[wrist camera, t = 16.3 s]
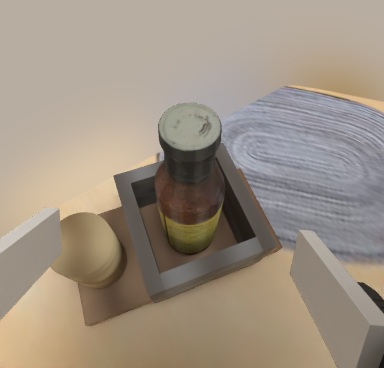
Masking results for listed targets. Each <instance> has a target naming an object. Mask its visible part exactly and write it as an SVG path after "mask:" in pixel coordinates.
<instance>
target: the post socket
mask: <svg viewBox="0 0 384 368" xmlns="http://www.w3.org/2000/svg"><path fill="white" fill-rule="evenodd" d="M215 157H216V162H217V164H218V166H219V168H220V171H221V173H222V175H223V178H224V182H225V195H224V200H223V205H222V208H221V213H220V217H219V221H218V226H217V229H216V233H215V236H214V239H213V241H212V242H211V244H210V245H209V246H208V248H207V249H205V250H204V251H202V252H200V253H197V254H194V255H186V254H183V253H179V252H177V251H176V250H174V249H173V248H172V247H171V246H170V244H169V242H168V241H167V239H166V237H165V234H164V230H163V225H162V221H161V217H160V213H159V209H158V205H157V199H156V190H155V178H154V177H155V174H156V172H157V169H158V167H159V166H160V165H161V163H162V162H163V161H161V162H157V163H154V164H151V165H147V166H144V167H141V168H137V169H134V170H131V171H127V172H124V173H121V174H117V175H114V180H115V183H116V186H117V190H118V193H119V197H120V200H121V204H122V207H119V208H116V209H113V210H110V211H107V212H104V213H101V214H98V215H96V214H93V213H77V214H73V215H70V216H68V217H66V218H64V219H63V220H61V221H60V229H61V244H62V254H61V255H60V256H59V257H58V258H57V259H56V260H55V261H54V262H53V264H52V265H51V266H50V267H51V268H52V269H53V270H54V271H55V272H57V273H59V274H61V275H63V276H65V277H67V278H69V279H72V280H74V281H76V282H78V287H79V292H80V298H81V303H82V308H83V314H84V319H85V324H86V326H92V325H95V324H97V323H100V322H102V321H105V320H107V319H110V318H112V317H115V316H117V315H120V314H122V313H125V312H127V311H130V310H132V309H135V308H137V307H140V306H142V305H145V304H147V303H150V302H152V301H153V302H154V303H157V302H159V301H162V300H164V299H167V298H169V297H172V296H174V295H176V294H179V293H181V292H184V291H186V290H189V289H191V288H194V287H196V286H199V285H201V284H204V283H206V282H209V281H211V280H214V279H216V278H219V277H221V276H224V275H226V274H229V273H231V272H234V271H236V270H238V269H241V268H243V267H246V266H248V265H251V264H253V263H256V262H258V261H260V260H261V259H262V258H263V257H265V256H267V255H269V254H272V253H274V252H277V251H278V250H279V249H281V248H282V246H281V244H280V242H279V240H278V238H277V236H276V234H275V232H274V231H273V229H272V227H271V225H270V223H269V221H268V219H267V217H266V216H265V214H264V212H263V210H262V208H261V206H260V204H259V202H258V201H257V199H256V197H255V195H254V193H253V191H252V189H251V188H250V186H249V184H248V182H247V180H246V178H245V176H244V174H243V173H242V171H241V169H236V167H235V165H234V163H233V161H232V159H231V157H230V155H229V153H228V151H227V150H226V148H225V146H224V144H223V143H221V144H220V145H219V148H218V149H217V151H216V155H215Z"/></svg>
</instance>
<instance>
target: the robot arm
mask: <svg viewBox="0 0 384 368" xmlns="http://www.w3.org/2000/svg"><path fill="white" fill-rule="evenodd" d="M61 254H62V244H61V229H60V214H59V209H56V208H44V209H42V210H41V211H40V212H38V213H37V214H35V215H34V216H32V217H31V218H29V219H28V220H26V221H25V222H23V223H22V224H21V225H19V226H18V227H16V228H15V229H13V230H12V231H10V232H9V233H8V234H6V235H4V236H3V237H2V238H0V320H1V319H2V318H3V317H4V316H5V315H6V314H7V313H8V312H9V311H10V309H11V308H12V307H13V306H14V305H15V304H16V303H17V302H18V301H19V300H20V299H21V297H22V296H23V295H24V294H25V293H26V292H27V291H28V290H29V289H30V288H31V287H32V285H33V284H34V283H35V282H36V281H37V280H38V279H39V278H40V277H41V276H42V275H43V273H44V272H45V271H46V270H47V269H48V268H49V267H50V266H51V265H52V264H53V262H54V261H55V260H56V259H57V258H58V257H59V256H60V255H61ZM290 275H291V277H292V279H293V281H294V283H295V285H296V287H297V289H298V291H299V293H300V294H301V296H302V298H303V300H304V302H305V304H306V306H307V308H308V310H309V312H310V314H311V316H312V318H313V320H314V322H315V324H316V326H317V328H318V330H319V332H320V334H321V336H322V338H323V340H324V342H325V344H326V346H327V348H328V350H329V352H330V354H331V356H332V358H333V360H334V362H335V364H336V366H337V367H338V368H384V300H383V299H382V298H381V296H380V295H379V294H378V293H377V292H376V291H375V290H373V289H372V288H371V287H369V286H368V285H366V284H365V283H360V282H356V281H355V280H354V278H353V277H352V276H351V275H350V274H349V272H348V271H347V270H346V269H345V268H344V267H343V265H342V264H341V263H340V262H339V261H338V260H337V258H336V257H335V256H334V255H333V254H332V252H331V251H330V250H329V249H328V248H327V247H326V245H325V244H324V243H323V242H322V241H321V240H320V238H319V237H318V236H317V235H316V234H315V232H314V231H308V230H299V233H298V237H297V242H296V247H295V251H294V256H293V261H292V265H291V270H290Z"/></svg>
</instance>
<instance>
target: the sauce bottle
mask: <svg viewBox="0 0 384 368" xmlns="http://www.w3.org/2000/svg"><path fill="white" fill-rule="evenodd" d="M221 127H222V125H221V122H220V119H219V117H218V116H217V115H216V113H215V112H214V111H213V110H212V109H210V108H209V107H207V106H205V105H201V104H197V103H182V104H177V105H175V106H172V107H171V108H169V109H168V110H167V111H165V112H164V114H163V115H162V117H161V118H160V121H159V124H158V132H159V141H160V145H161V147H162V149H163V150H164V161H163V162H162V163H161V165H160V166H159V167H158V169H157V172H156V174H155V177H154V178H155V190H156V199H157V205H158V209H159V213H160V217H161V221H162V225H163V230H164V234H165V237H166V239H167V241H168V242H169V244H170V246H171V247H172V248H173V249H174V250H176V251H177V252H179V253H183V254H186V255H194V254H197V253H200V252H202V251H204V250H205V249H207V248H208V246H209V245H210V244H211V242H212V241H213V239H214V236H215V233H216V229H217V226H218V221H219V217H220V213H221V208H222V205H223V200H224V195H225V182H224V178H223V175H222V173H221V171H220V168H219V166H218V164H217V162H216V157H215V155H216V151H217V149H218V148H219V145H220V142H221V132H222V131H221Z"/></svg>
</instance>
